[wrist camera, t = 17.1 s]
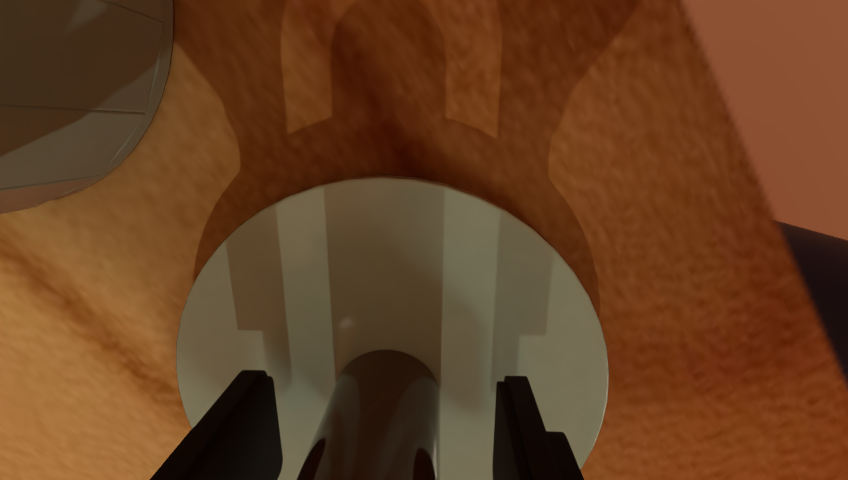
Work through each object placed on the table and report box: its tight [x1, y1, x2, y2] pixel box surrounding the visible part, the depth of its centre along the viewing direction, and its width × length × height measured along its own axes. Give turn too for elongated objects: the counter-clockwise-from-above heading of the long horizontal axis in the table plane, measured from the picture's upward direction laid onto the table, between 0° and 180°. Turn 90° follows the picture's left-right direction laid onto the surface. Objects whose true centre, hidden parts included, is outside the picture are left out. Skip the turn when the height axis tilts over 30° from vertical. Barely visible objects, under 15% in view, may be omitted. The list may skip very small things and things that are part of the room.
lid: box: [176, 175, 609, 480], centre depth 9 cm, size 12×12×7 cm
